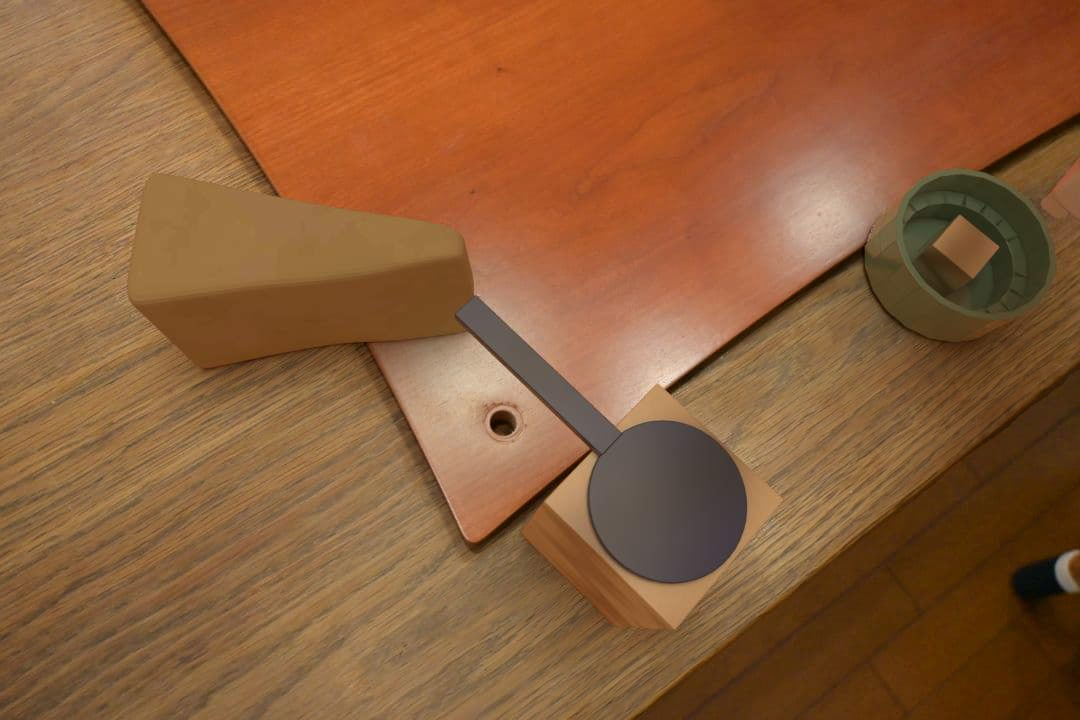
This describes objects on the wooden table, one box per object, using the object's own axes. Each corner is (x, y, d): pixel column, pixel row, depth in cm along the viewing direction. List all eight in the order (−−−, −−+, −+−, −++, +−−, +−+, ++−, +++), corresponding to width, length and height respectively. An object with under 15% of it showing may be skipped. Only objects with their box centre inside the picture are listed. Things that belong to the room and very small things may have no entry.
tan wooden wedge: (474, 270, 68) (477, 178, 53) (471, 377, 65) (474, 311, 50) (209, 260, 66) (140, 162, 51) (194, 371, 62) (116, 299, 48)
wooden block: (968, 268, 72) (1000, 246, 68) (943, 298, 71) (973, 278, 67) (931, 236, 73) (959, 213, 68) (905, 266, 71) (932, 245, 67)
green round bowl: (1037, 273, 73) (1085, 244, 67) (956, 374, 69) (1000, 353, 63) (917, 175, 75) (954, 140, 70) (832, 268, 71) (864, 238, 65)
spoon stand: (696, 530, 62) (790, 497, 45) (613, 626, 60) (679, 631, 42) (506, 349, 66) (523, 251, 48) (418, 432, 63) (402, 360, 45)
